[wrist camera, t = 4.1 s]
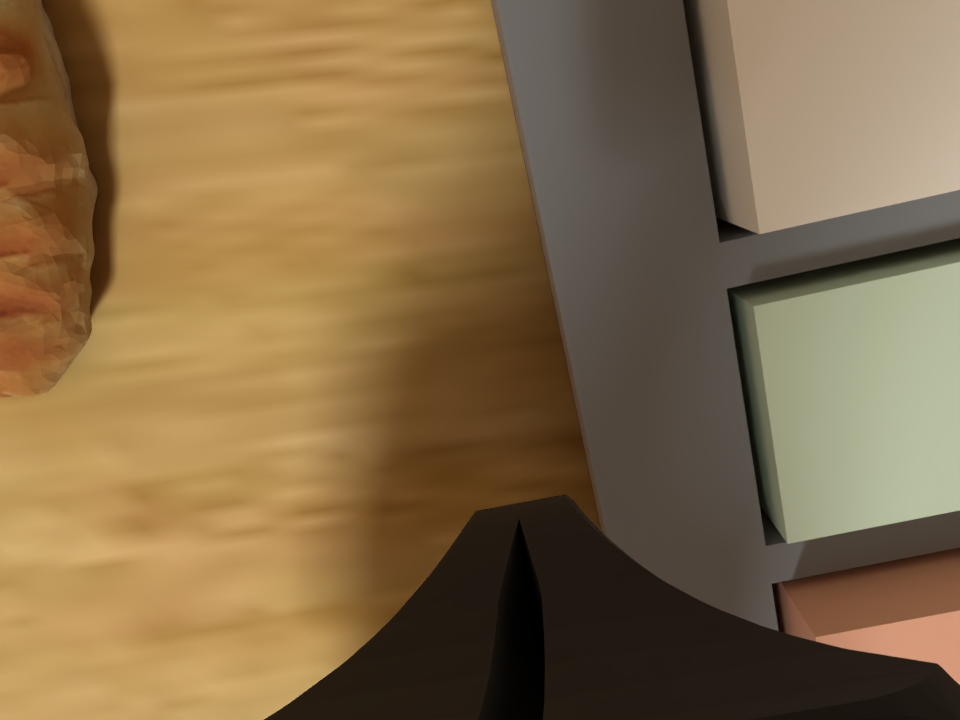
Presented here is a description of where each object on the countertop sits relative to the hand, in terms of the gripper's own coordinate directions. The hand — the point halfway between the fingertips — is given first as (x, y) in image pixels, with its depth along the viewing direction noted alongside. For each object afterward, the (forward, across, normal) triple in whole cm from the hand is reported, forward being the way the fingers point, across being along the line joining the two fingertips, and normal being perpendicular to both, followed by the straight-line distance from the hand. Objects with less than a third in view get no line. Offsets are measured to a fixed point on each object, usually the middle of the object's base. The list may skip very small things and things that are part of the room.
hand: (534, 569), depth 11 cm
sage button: (+8, -7, +1) cm, 11 cm away
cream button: (+7, -7, -6) cm, 12 cm away
